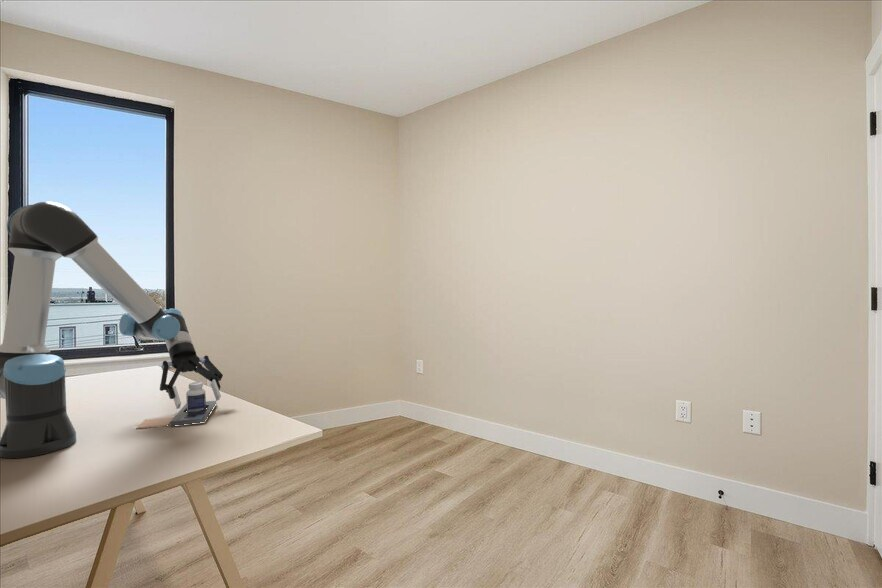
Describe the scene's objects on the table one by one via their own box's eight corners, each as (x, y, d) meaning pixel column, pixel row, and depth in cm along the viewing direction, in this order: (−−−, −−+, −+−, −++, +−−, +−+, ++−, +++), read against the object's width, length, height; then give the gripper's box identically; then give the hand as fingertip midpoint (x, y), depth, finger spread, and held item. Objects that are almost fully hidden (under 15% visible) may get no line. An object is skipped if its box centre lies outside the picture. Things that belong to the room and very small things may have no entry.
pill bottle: (208, 413, 146) (207, 383, 146) (190, 417, 142) (189, 386, 142) (202, 410, 150) (201, 380, 149) (184, 413, 146) (183, 383, 145)
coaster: (167, 426, 134) (167, 424, 134) (136, 429, 132) (136, 427, 132) (174, 418, 142) (174, 416, 142) (145, 420, 139) (145, 419, 139)
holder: (204, 423, 136) (204, 418, 136) (170, 426, 133) (170, 421, 133) (216, 405, 155) (216, 400, 155) (186, 407, 152) (186, 402, 152)
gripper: (214, 350, 164) (233, 401, 154) (138, 359, 147) (154, 417, 137) (219, 337, 160) (240, 388, 151) (142, 345, 143) (159, 403, 133)
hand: (199, 402), depth 144 cm, fingers open, 11 cm apart
